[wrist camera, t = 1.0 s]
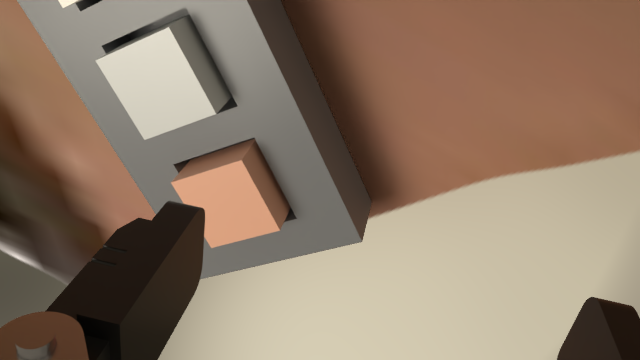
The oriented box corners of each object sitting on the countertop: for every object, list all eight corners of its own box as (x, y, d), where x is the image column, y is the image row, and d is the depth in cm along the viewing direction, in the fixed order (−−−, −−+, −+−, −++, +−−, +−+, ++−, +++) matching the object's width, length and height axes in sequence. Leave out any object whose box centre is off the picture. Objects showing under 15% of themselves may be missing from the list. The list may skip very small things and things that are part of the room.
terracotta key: (256, 137, 29) (241, 160, 27) (292, 204, 31) (280, 230, 29) (190, 159, 31) (170, 182, 29) (226, 222, 33) (211, 248, 31)
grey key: (191, 12, 27) (168, 27, 25) (234, 94, 28) (216, 113, 26) (122, 44, 28) (95, 60, 26) (166, 119, 30) (144, 140, 28)
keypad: (168, -247, 24) (121, -262, 21) (371, 202, 34) (362, 241, 30) (-3, -130, 28) (-65, -126, 25) (221, 240, 38) (198, 279, 34)
